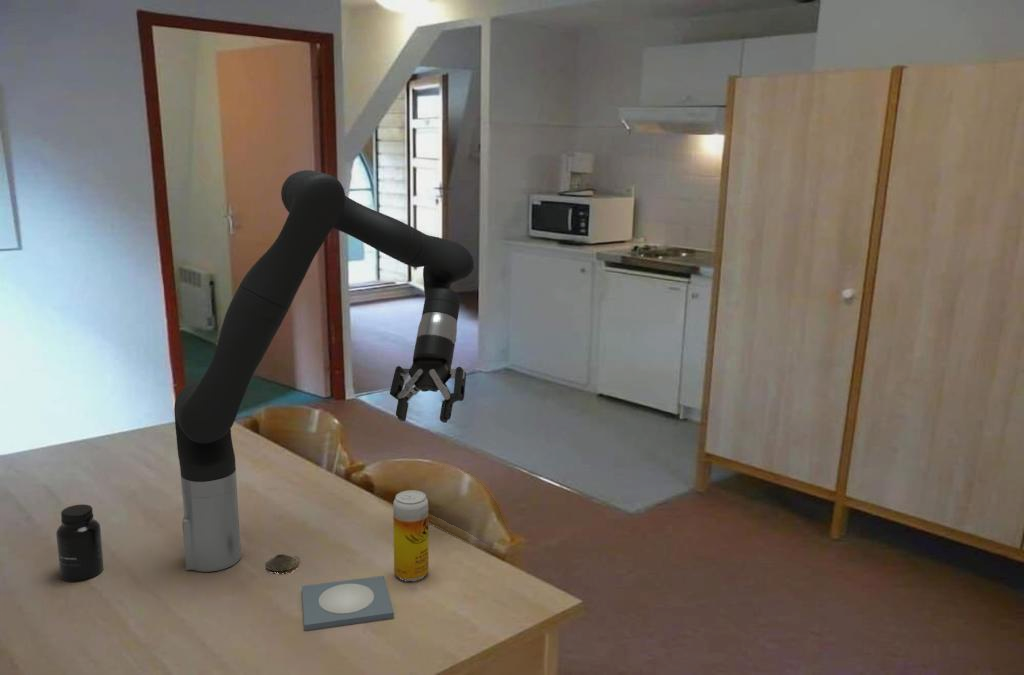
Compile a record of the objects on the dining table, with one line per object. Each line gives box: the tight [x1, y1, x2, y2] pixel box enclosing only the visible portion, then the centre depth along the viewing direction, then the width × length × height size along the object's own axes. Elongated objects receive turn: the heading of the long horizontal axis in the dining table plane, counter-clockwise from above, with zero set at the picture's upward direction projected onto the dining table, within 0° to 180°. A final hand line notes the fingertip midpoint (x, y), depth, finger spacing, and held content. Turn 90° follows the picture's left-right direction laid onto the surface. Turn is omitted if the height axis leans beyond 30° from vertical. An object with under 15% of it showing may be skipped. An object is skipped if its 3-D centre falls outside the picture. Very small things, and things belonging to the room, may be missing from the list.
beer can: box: [392, 489, 429, 582], centre depth 141 cm, size 6×6×15 cm
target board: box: [301, 575, 395, 632], centre depth 132 cm, size 14×12×1 cm
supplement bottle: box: [55, 504, 104, 582], centre depth 139 cm, size 7×7×12 cm
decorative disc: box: [265, 553, 301, 575], centre depth 144 cm, size 6×6×1 cm
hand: (422, 420), depth 148 cm, fingers open, 8 cm apart
